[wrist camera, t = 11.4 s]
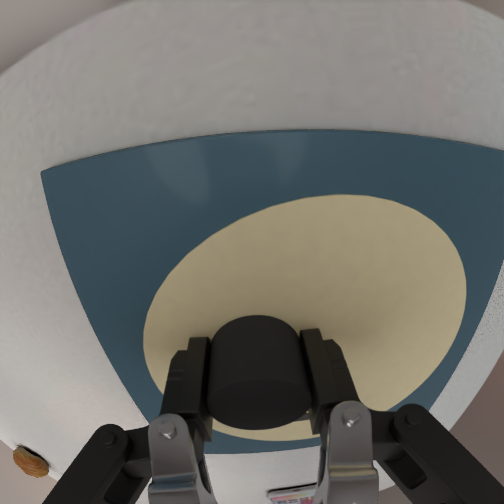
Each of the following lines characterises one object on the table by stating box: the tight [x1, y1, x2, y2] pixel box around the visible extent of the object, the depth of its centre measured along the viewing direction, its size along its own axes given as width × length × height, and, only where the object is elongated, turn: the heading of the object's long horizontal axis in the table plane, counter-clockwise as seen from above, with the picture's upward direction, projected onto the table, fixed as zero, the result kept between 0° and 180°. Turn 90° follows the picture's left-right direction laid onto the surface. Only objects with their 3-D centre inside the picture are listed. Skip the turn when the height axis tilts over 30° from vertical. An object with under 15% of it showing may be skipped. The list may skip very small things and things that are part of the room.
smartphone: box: [266, 484, 317, 504], centre depth 27 cm, size 7×1×15 cm
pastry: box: [13, 447, 49, 478], centre depth 23 cm, size 9×7×4 cm
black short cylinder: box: [206, 315, 312, 430], centre depth 10 cm, size 4×4×3 cm
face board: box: [41, 129, 504, 454], centre depth 12 cm, size 20×20×1 cm
